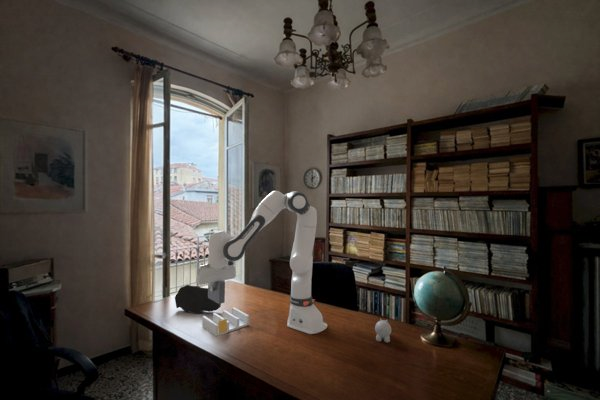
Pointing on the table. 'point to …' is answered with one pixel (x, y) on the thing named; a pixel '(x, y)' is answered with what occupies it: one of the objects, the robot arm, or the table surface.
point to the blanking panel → (217, 292)
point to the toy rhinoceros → (383, 330)
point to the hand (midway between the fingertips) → (216, 290)
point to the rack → (225, 322)
